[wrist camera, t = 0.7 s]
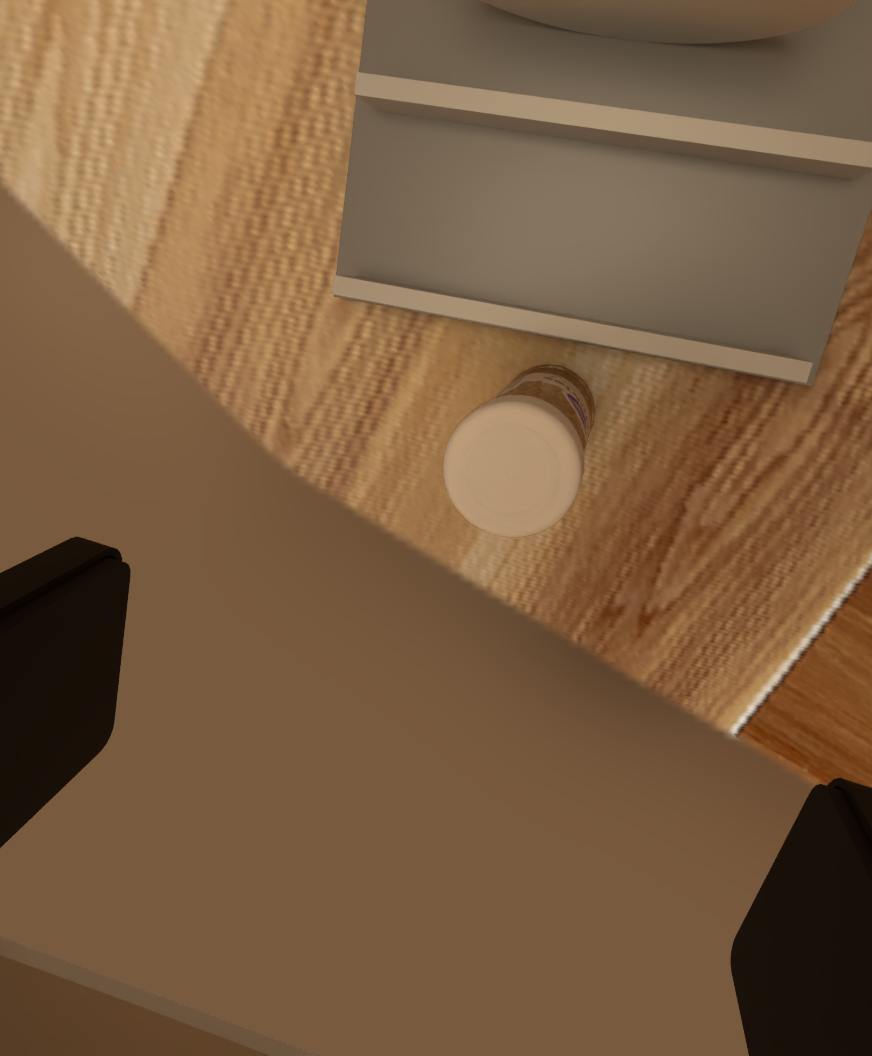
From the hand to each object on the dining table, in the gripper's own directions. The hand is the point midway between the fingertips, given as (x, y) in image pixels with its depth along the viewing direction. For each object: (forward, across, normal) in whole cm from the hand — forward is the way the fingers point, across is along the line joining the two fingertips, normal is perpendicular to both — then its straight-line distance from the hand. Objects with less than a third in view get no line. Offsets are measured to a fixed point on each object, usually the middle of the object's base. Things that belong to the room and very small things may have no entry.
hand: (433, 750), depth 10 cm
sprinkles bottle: (+29, 0, 0) cm, 29 cm away
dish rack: (+28, +1, -12) cm, 31 cm away
